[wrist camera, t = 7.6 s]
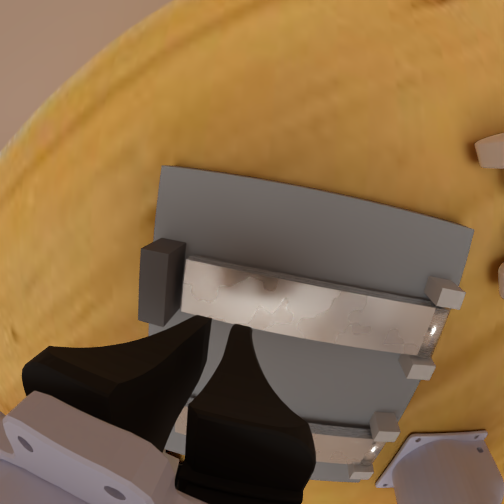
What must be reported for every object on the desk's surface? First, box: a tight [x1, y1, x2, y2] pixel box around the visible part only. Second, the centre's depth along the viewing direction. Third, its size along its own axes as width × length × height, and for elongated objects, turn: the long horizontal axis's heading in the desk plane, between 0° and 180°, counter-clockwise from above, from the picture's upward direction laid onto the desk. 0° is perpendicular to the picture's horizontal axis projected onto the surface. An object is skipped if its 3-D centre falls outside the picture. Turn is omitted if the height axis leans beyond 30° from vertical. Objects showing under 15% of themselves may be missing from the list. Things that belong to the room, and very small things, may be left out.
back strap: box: [175, 398, 386, 467], centre depth 19 cm, size 15×3×1 cm, turn 81°
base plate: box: [138, 166, 474, 482], centre depth 18 cm, size 18×22×5 cm
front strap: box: [181, 255, 450, 358], centre depth 16 cm, size 15×3×1 cm, turn 81°
